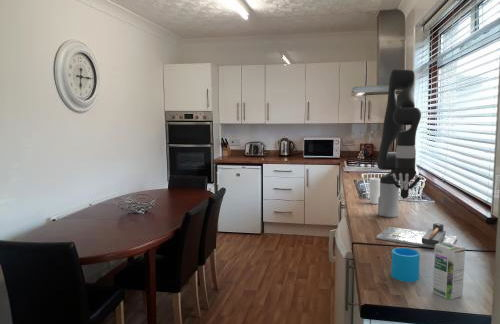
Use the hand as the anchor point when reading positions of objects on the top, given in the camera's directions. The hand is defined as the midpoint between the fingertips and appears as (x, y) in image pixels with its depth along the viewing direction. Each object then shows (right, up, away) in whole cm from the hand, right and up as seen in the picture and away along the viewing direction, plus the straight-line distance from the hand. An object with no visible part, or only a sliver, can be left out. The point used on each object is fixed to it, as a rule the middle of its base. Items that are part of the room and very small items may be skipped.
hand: (404, 198), depth 160 cm
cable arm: (+11, -16, -3) cm, 20 cm away
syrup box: (-8, -23, -50) cm, 55 cm away
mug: (-14, -22, -35) cm, 44 cm away
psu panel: (+6, -17, +2) cm, 18 cm away
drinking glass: (+11, -10, +70) cm, 72 cm away
